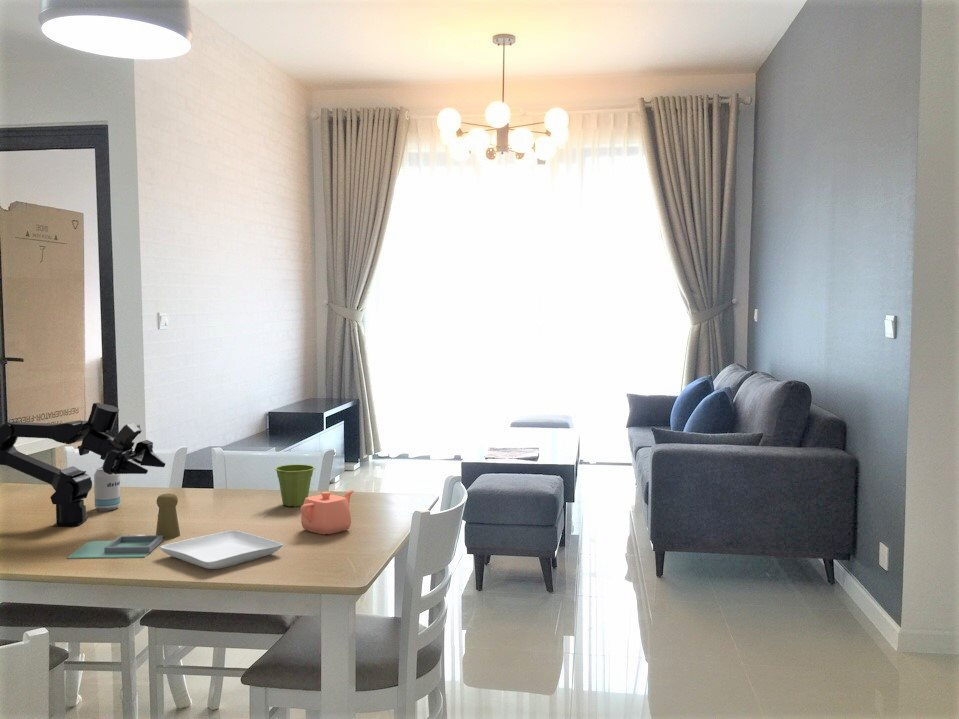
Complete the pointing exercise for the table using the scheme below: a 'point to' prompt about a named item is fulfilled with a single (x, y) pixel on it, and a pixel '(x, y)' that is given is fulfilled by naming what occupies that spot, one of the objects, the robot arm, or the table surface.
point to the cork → (167, 516)
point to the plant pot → (294, 483)
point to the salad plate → (222, 549)
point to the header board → (119, 547)
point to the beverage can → (106, 490)
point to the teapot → (326, 513)
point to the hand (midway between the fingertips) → (156, 468)
